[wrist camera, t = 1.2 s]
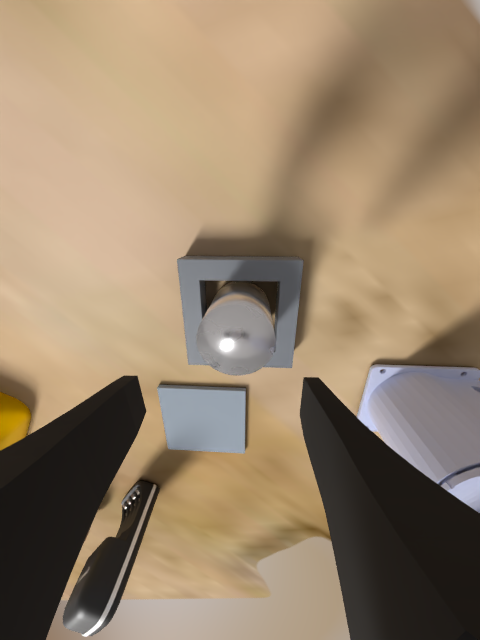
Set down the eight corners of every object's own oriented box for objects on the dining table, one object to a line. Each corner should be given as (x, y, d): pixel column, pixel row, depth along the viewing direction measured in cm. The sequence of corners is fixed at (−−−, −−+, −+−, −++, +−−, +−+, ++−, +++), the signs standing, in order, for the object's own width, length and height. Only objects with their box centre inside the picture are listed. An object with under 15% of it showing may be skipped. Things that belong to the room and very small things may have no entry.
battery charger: (136, 472, 29) (71, 611, 19) (162, 484, 30) (113, 624, 20) (117, 497, 32) (49, 632, 21) (141, 508, 32) (87, 643, 22)
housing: (298, 256, 18) (303, 260, 16) (288, 355, 21) (291, 368, 19) (184, 255, 18) (177, 259, 16) (193, 352, 22) (188, 364, 20)
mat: (245, 387, 23) (245, 391, 22) (244, 449, 26) (244, 453, 26) (159, 384, 23) (157, 387, 23) (169, 445, 27) (168, 449, 26)
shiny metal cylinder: (271, 281, 18) (278, 305, 13) (268, 335, 20) (273, 376, 15) (211, 280, 19) (193, 304, 13) (213, 334, 21) (199, 374, 15)
